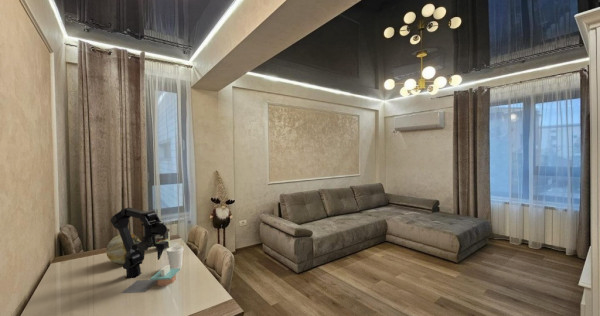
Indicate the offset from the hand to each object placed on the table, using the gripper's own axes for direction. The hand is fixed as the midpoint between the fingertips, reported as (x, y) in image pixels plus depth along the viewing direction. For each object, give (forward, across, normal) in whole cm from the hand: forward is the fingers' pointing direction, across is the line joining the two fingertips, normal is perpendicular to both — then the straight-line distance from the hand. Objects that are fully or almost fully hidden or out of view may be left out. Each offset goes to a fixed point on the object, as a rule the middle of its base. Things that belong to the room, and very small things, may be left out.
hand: (150, 259), depth 145 cm
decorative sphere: (+13, -34, +26) cm, 45 cm away
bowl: (+11, +11, -4) cm, 16 cm away
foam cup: (+12, +8, +13) cm, 19 cm away
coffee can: (+13, -21, +50) cm, 56 cm away
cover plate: (+7, +11, -4) cm, 13 cm away
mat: (+12, -1, -8) cm, 14 cm away
